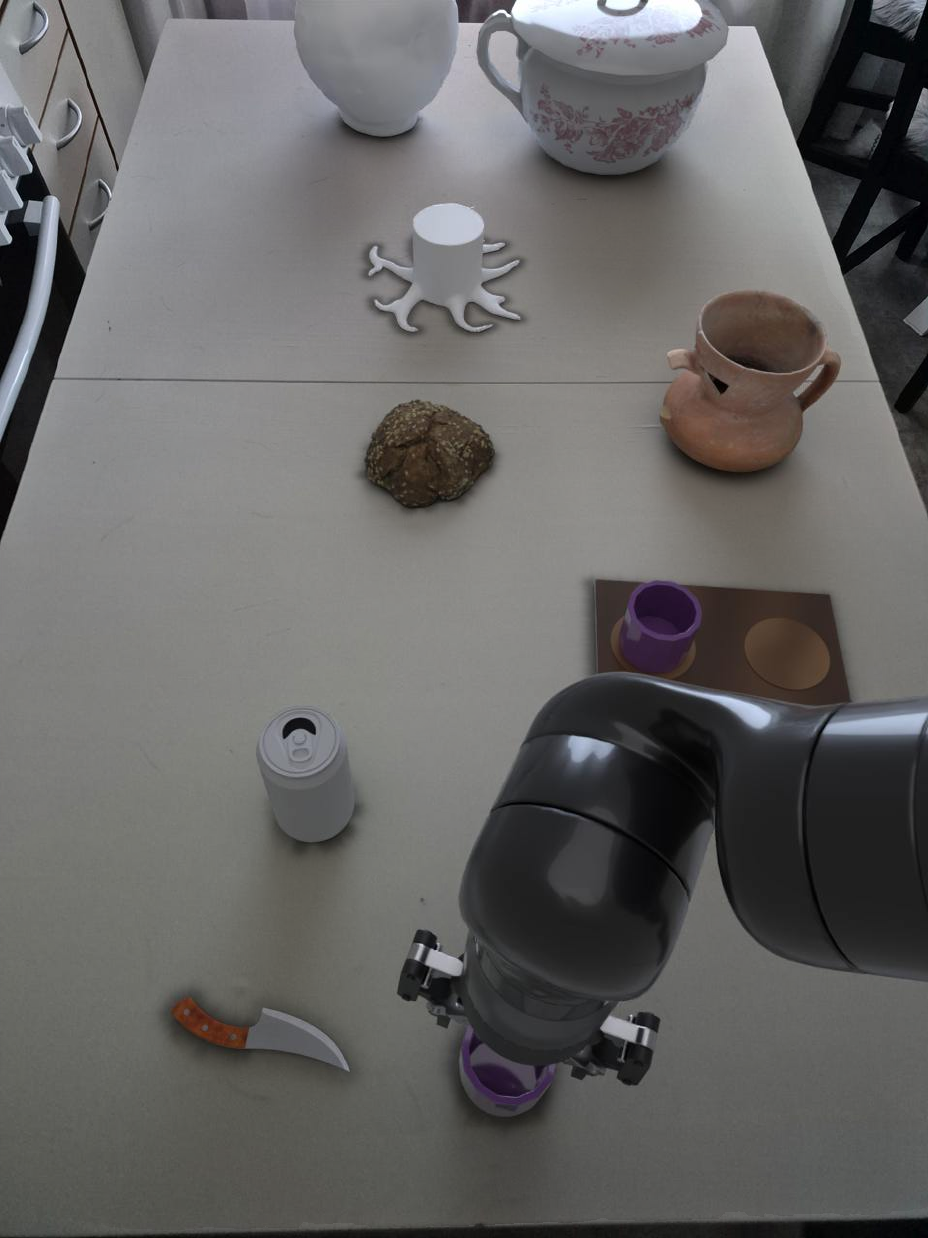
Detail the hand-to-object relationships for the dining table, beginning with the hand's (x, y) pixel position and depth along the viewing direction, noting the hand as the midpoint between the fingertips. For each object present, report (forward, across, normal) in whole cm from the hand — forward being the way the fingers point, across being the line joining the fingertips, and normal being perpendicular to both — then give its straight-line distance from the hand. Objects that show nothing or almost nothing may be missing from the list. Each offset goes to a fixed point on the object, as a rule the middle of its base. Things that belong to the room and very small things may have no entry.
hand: (513, 1035), depth 59 cm
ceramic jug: (+10, +4, +67) cm, 68 cm away
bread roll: (+10, -25, +52) cm, 58 cm away
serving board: (+10, +8, +39) cm, 41 cm away
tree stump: (+10, -33, +80) cm, 87 cm away
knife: (+10, -16, -4) cm, 19 cm away
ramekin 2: (+9, +2, +37) cm, 38 cm away
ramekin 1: (+10, 0, 0) cm, 10 cm away
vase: (+10, -55, +112) cm, 125 cm away
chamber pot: (+10, -24, +117) cm, 120 cm away
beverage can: (+10, -20, +13) cm, 26 cm away
